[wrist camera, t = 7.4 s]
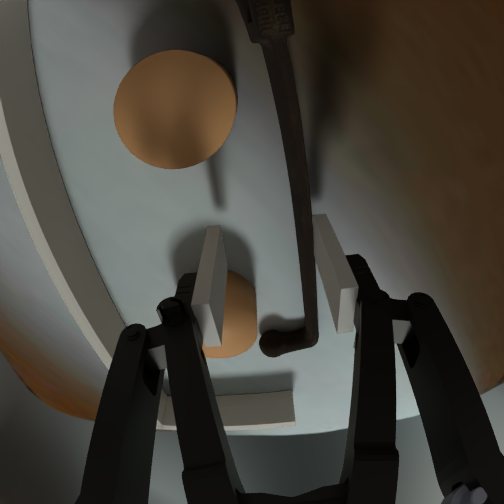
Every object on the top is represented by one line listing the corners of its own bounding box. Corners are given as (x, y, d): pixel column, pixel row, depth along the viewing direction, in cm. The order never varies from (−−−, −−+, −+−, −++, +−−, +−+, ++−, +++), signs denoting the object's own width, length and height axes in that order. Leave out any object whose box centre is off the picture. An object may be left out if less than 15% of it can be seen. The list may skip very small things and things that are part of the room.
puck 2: (264, 275, 23) (266, 308, 20) (247, 330, 26) (247, 362, 23) (183, 262, 22) (174, 293, 19) (177, 319, 25) (170, 350, 22)
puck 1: (233, 47, 14) (230, 41, 11) (241, 145, 18) (240, 163, 15) (130, 63, 14) (106, 64, 12) (144, 156, 18) (125, 175, 15)
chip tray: (235, -98, 8) (233, -128, 5) (292, 395, 32) (295, 425, 29) (14, -16, 9) (-21, -21, 6) (161, 400, 33) (156, 429, 30)
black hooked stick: (258, 328, 29) (173, -41, 11) (311, 318, 29) (263, -56, 10) (264, 375, 25) (154, -70, 7) (324, 363, 24) (277, -89, 6)
